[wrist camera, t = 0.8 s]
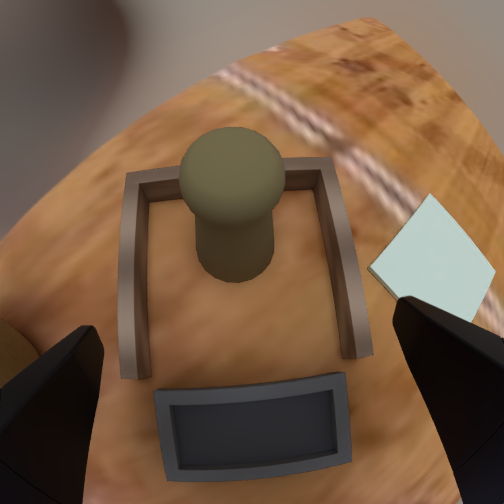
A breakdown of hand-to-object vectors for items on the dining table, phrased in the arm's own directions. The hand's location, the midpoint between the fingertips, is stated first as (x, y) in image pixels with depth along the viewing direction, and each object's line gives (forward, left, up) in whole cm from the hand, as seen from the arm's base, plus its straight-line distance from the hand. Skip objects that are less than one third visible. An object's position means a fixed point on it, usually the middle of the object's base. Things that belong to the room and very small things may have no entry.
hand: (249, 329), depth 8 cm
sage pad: (-8, -17, -13) cm, 23 cm away
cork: (+6, -5, -13) cm, 15 cm away
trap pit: (-5, +4, -13) cm, 15 cm away
